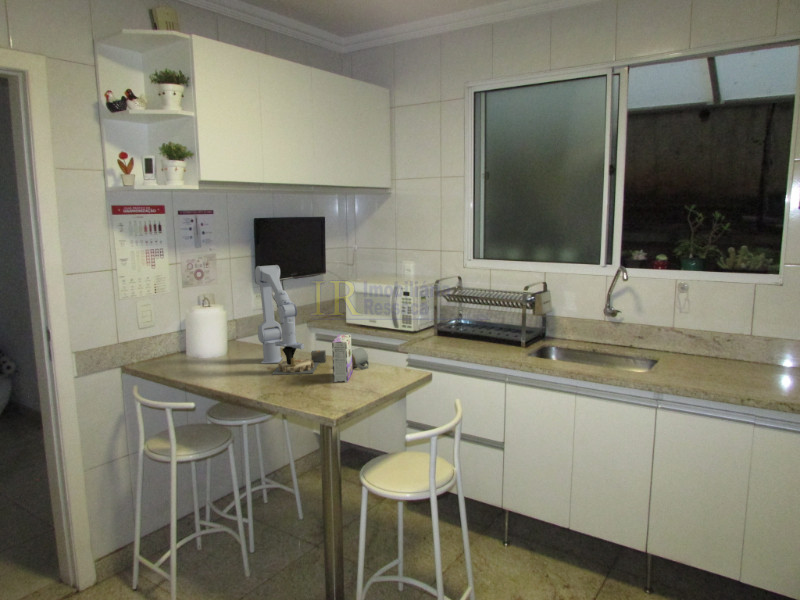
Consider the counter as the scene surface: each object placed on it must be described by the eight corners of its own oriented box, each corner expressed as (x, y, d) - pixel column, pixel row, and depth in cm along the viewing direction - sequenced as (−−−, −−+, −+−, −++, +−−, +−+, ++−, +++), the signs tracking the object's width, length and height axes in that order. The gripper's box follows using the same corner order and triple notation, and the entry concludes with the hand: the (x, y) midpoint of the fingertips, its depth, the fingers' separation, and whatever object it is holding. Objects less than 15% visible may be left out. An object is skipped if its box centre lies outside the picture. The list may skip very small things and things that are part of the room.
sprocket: (271, 369, 235) (270, 357, 234) (295, 361, 247) (294, 349, 246) (297, 374, 227) (296, 361, 226) (321, 365, 239) (320, 353, 238)
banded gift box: (312, 361, 249) (312, 350, 248) (326, 361, 249) (325, 350, 248) (311, 363, 246) (311, 352, 245) (325, 362, 246) (324, 351, 245)
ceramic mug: (343, 367, 238) (342, 349, 237) (356, 363, 244) (356, 346, 243) (360, 371, 231) (359, 353, 230) (373, 367, 237) (373, 349, 236)
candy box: (339, 372, 229) (337, 334, 226) (353, 372, 228) (351, 334, 226) (333, 382, 215) (331, 341, 213) (348, 382, 215) (346, 341, 212)
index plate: (281, 364, 245) (281, 363, 245) (319, 363, 245) (319, 362, 245) (272, 374, 229) (272, 373, 229) (312, 373, 228) (312, 372, 228)
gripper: (269, 332, 231) (271, 364, 233) (295, 335, 223) (297, 368, 225) (280, 329, 237) (282, 360, 239) (306, 332, 229) (308, 364, 231)
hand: (290, 364), depth 232 cm, fingers closed, pressing on sprocket
